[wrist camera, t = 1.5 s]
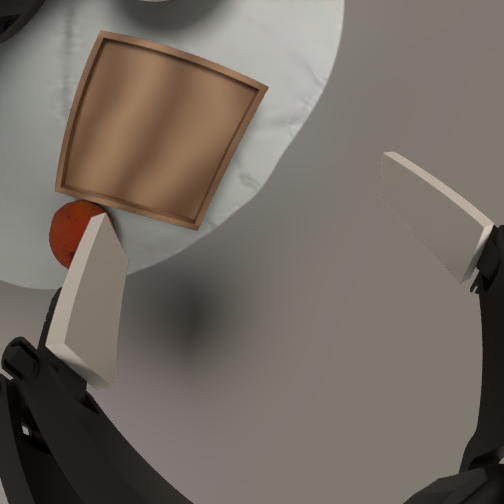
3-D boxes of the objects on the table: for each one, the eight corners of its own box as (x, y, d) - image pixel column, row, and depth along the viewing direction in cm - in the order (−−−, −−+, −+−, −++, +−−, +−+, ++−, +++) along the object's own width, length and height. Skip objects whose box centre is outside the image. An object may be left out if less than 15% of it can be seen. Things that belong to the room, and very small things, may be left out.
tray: (76, 166, 27) (54, 191, 21) (119, 38, 19) (100, 30, 14) (194, 200, 34) (197, 230, 28) (251, 83, 26) (268, 87, 21)
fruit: (119, 192, 30) (105, 226, 24) (118, 249, 35) (109, 290, 29) (58, 187, 27) (32, 220, 21) (63, 244, 32) (45, 282, 26)
